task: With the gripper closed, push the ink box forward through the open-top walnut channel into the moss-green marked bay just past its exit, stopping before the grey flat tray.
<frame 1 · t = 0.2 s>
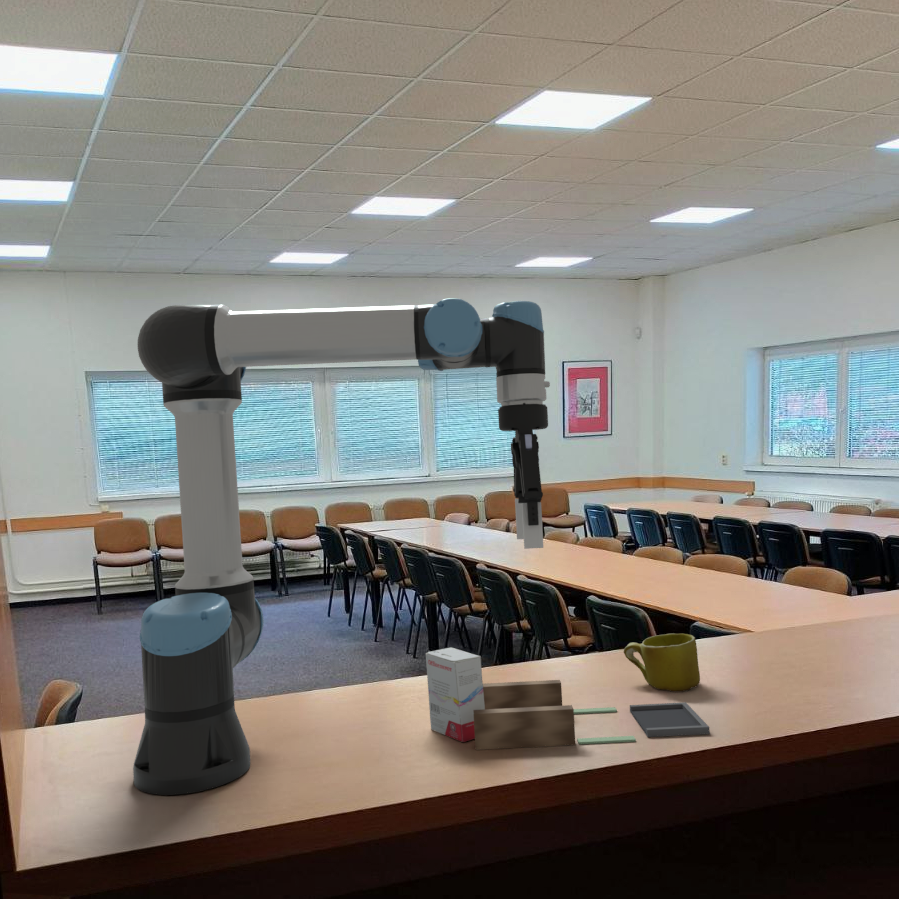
hand: (529, 543, 122), 27 cm above the table, fingers open, 13 cm apart
mug: (662, 686, 139), on the table
ink box: (457, 734, 120), on the table
grey flat tray: (665, 722, 120), on the table
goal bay: (598, 725, 120), on the table
tunnel walls: (521, 729, 120), on the table
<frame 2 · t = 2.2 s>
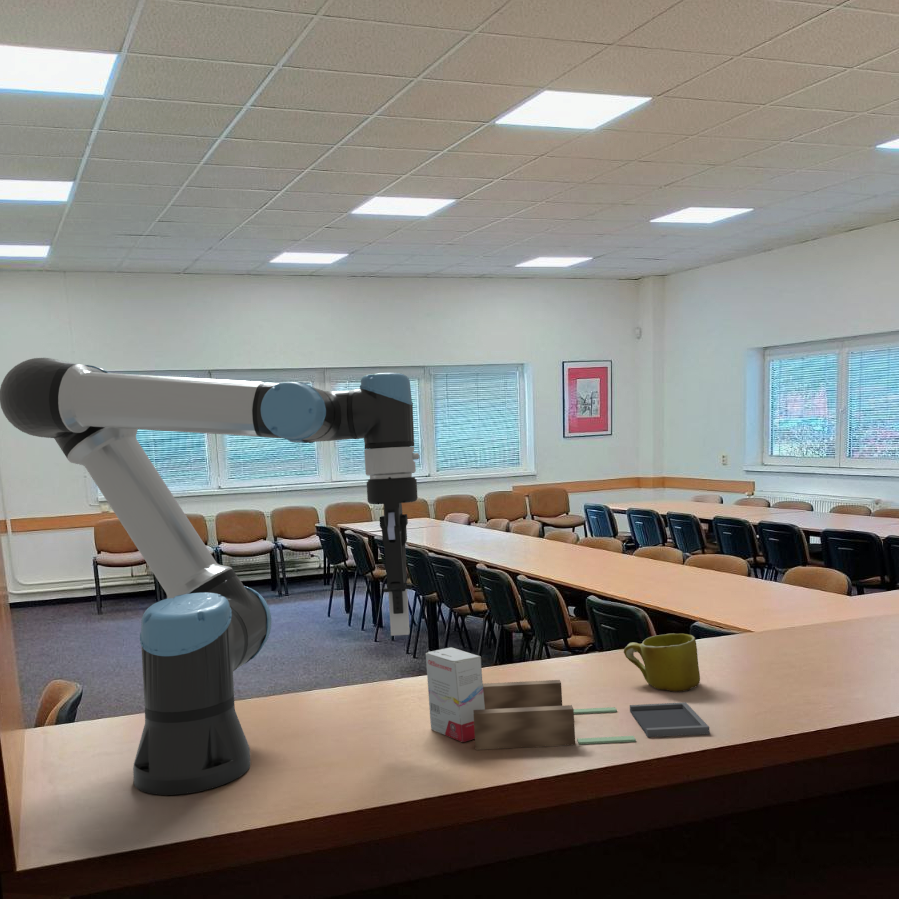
hand: (400, 633, 120), 15 cm above the table, fingers closed
nothing on the table moved.
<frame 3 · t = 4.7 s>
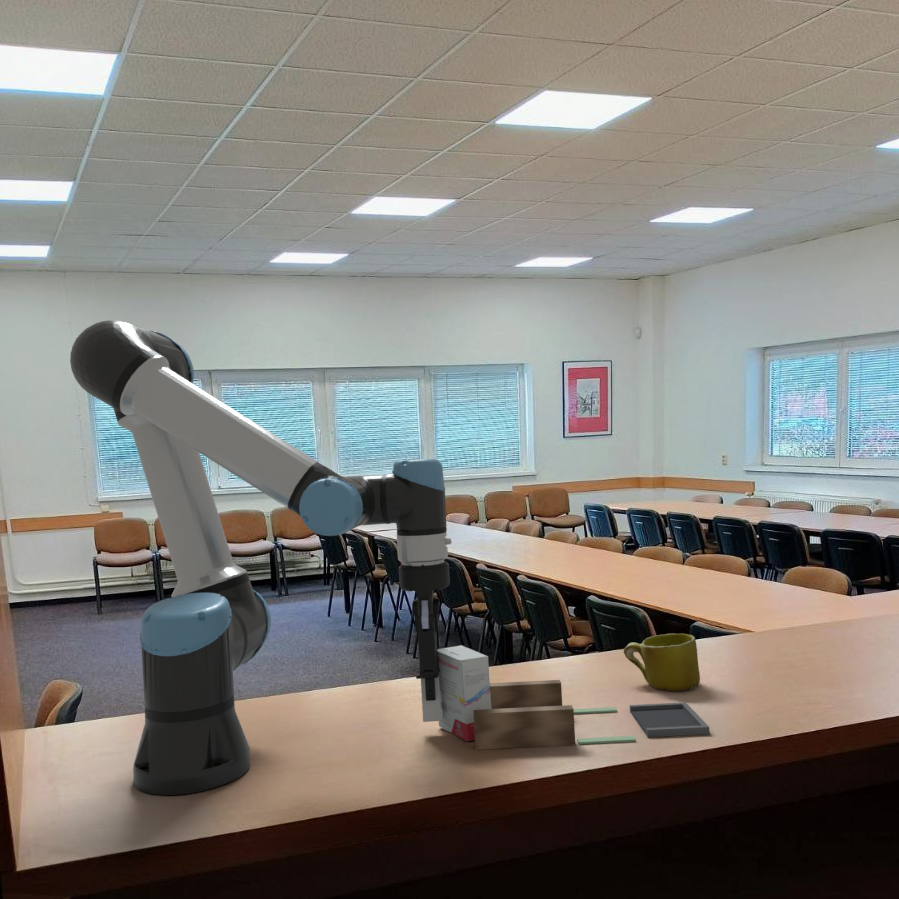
hand: (432, 719, 120), 2 cm above the table, fingers closed
ink box: (464, 732, 120), on the table
everything else where it was.
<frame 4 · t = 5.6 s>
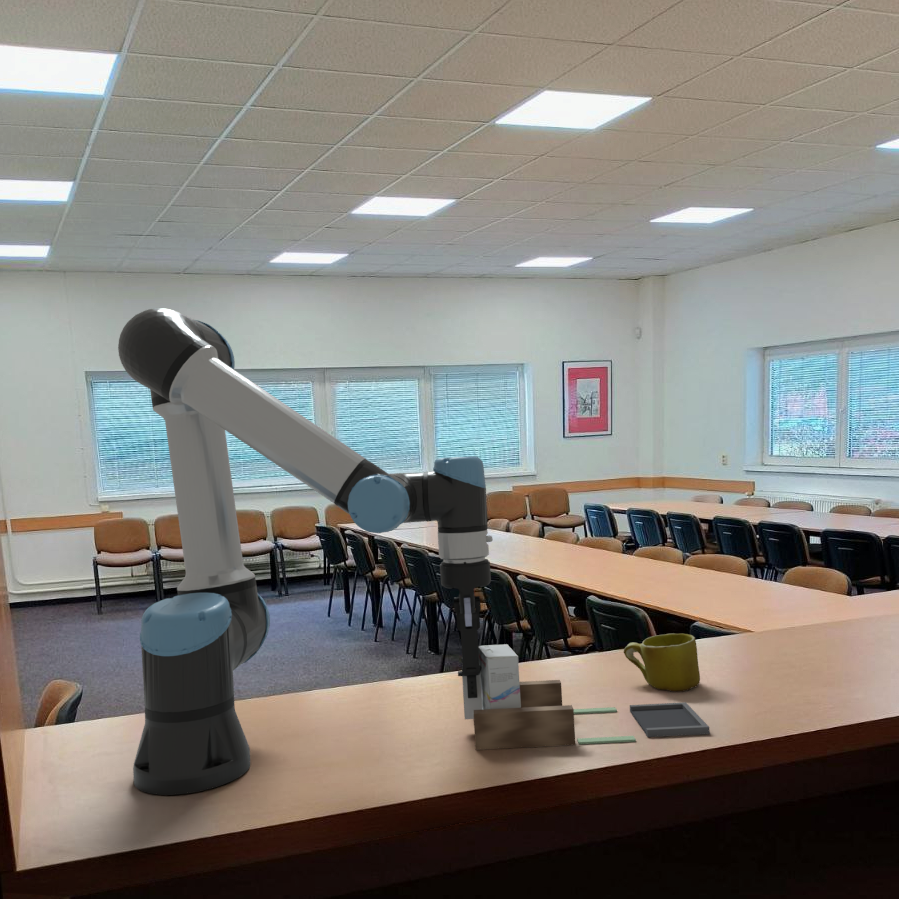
hand: (473, 717, 120), 2 cm above the table, fingers closed
ink box: (500, 730, 120), on the table
everything else where it was.
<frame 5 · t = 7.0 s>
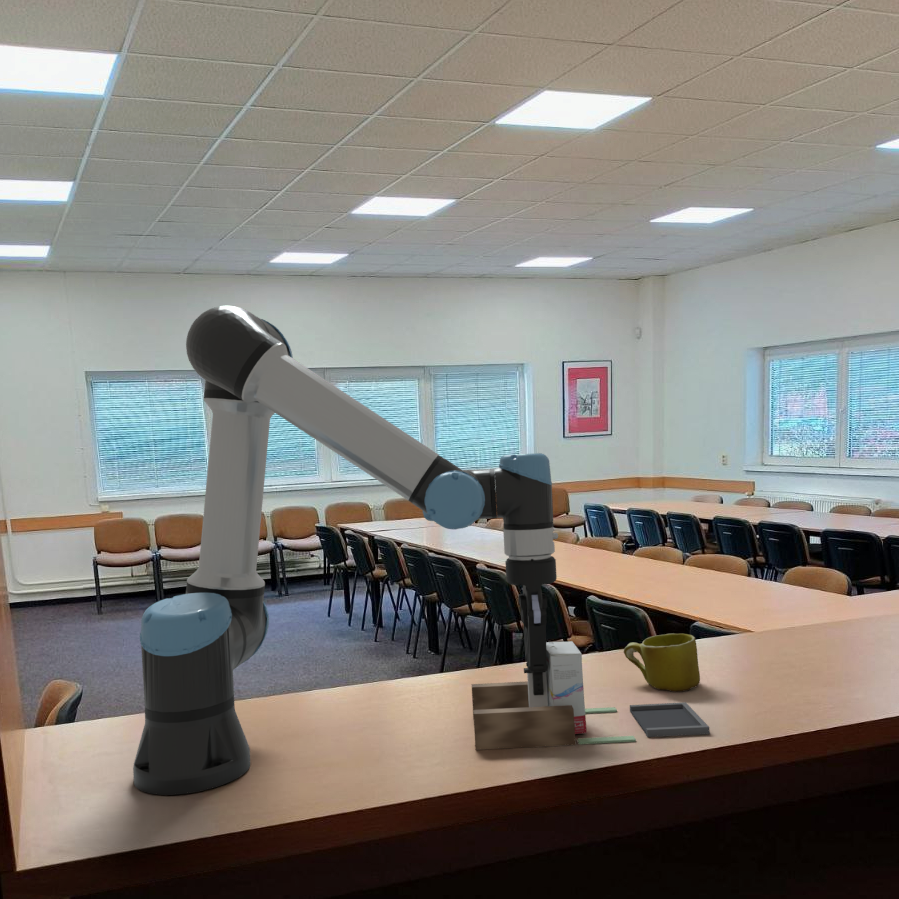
hand: (538, 714, 120), 2 cm above the table, fingers closed
ink box: (564, 727, 120), on the table, touching gripper
everything else where it was.
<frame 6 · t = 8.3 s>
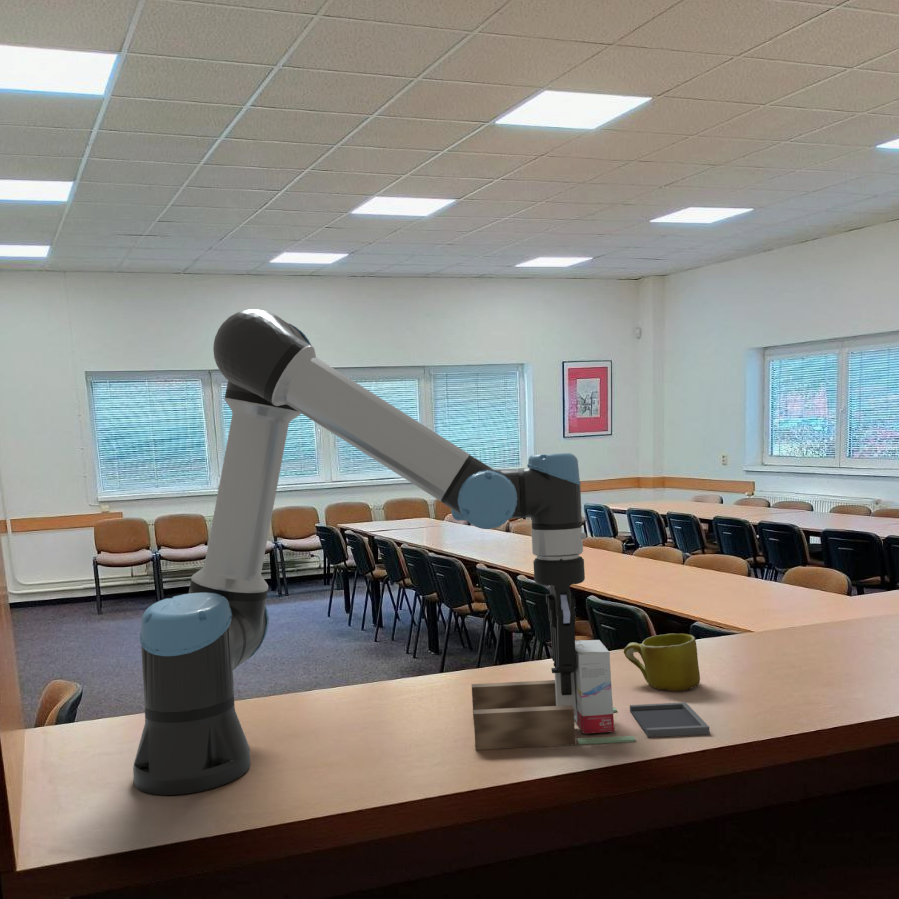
hand: (566, 714, 120), 2 cm above the table, fingers closed
ink box: (591, 726, 120), on the table, touching gripper
everything else where it was.
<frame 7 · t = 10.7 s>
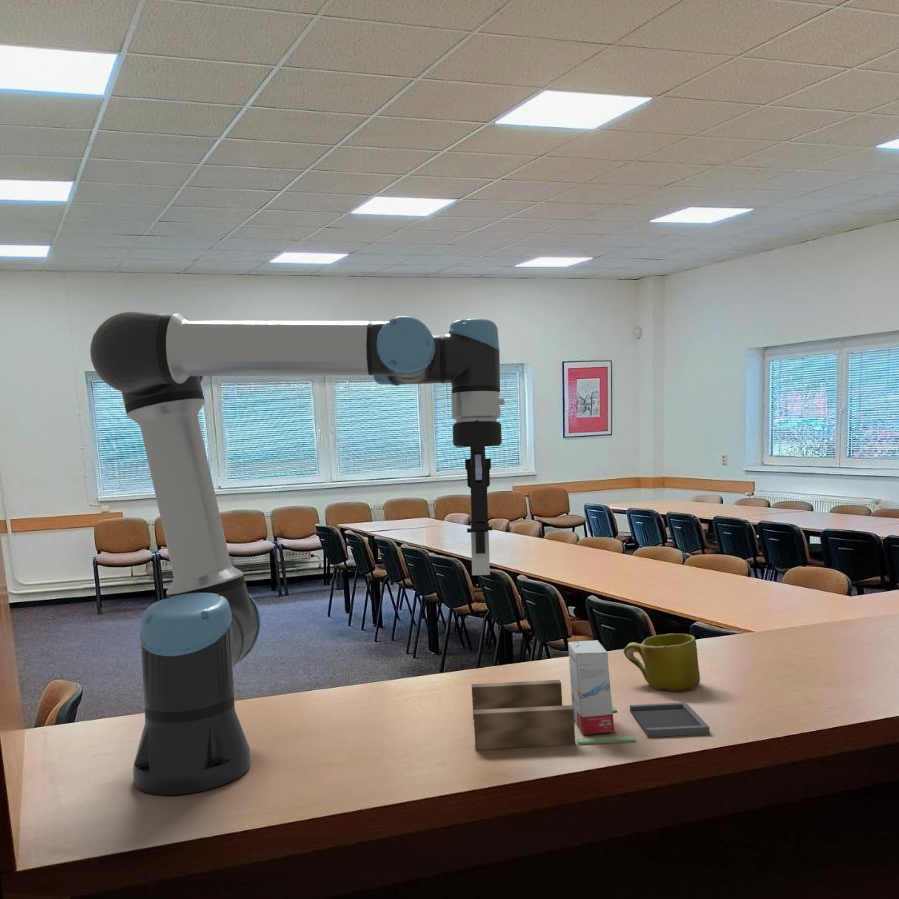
hand: (480, 574, 123), 23 cm above the table, fingers closed
ink box: (592, 726, 120), on the table
everything else where it was.
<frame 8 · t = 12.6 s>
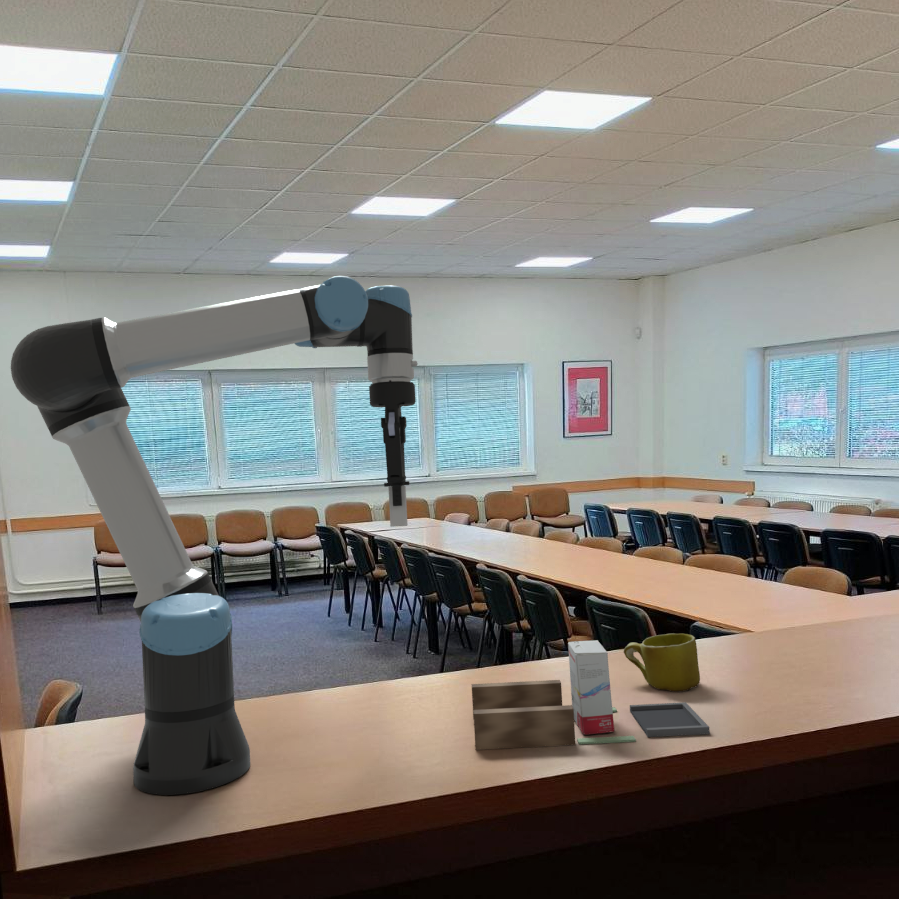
hand: (399, 525, 131), 30 cm above the table, fingers closed
nothing on the table moved.
at the end: ink box inside the target area (0.7 cm from its centre), on the table; ink box tilted 0°; ink box touching table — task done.
